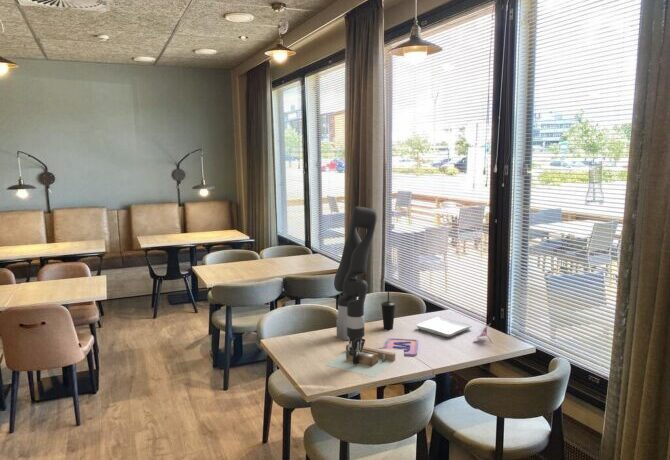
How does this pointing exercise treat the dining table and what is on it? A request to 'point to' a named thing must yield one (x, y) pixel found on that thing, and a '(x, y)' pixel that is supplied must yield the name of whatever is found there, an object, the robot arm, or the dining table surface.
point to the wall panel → (383, 362)
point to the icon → (402, 345)
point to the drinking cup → (388, 313)
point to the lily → (484, 332)
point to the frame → (365, 358)
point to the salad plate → (443, 326)
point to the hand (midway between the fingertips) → (355, 363)
